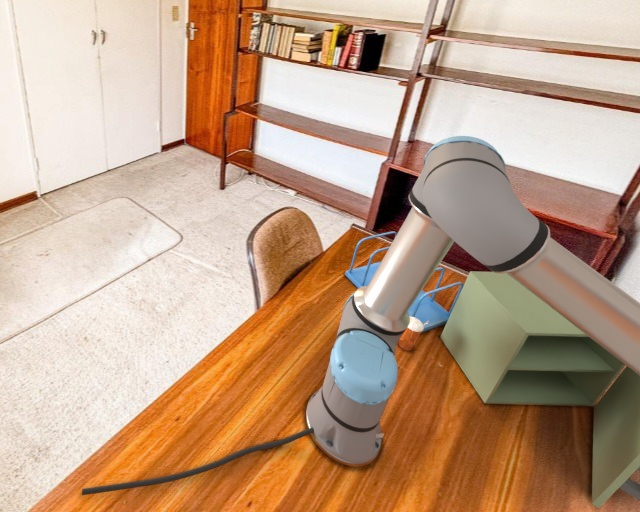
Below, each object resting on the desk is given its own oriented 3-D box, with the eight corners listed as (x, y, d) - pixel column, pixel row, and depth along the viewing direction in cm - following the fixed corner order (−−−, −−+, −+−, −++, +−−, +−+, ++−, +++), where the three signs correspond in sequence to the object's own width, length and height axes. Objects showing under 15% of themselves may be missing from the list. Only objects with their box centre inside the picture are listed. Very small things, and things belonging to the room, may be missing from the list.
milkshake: (420, 355, 102) (432, 328, 98) (398, 351, 103) (409, 324, 99) (414, 340, 106) (425, 313, 102) (393, 336, 107) (403, 310, 103)
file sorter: (344, 275, 128) (354, 237, 121) (385, 264, 134) (398, 227, 127) (406, 338, 107) (423, 296, 100) (452, 322, 112) (471, 281, 106)
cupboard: (593, 406, 92) (648, 336, 82) (484, 403, 92) (526, 332, 81) (532, 339, 108) (571, 274, 98) (439, 337, 108) (470, 271, 98)
